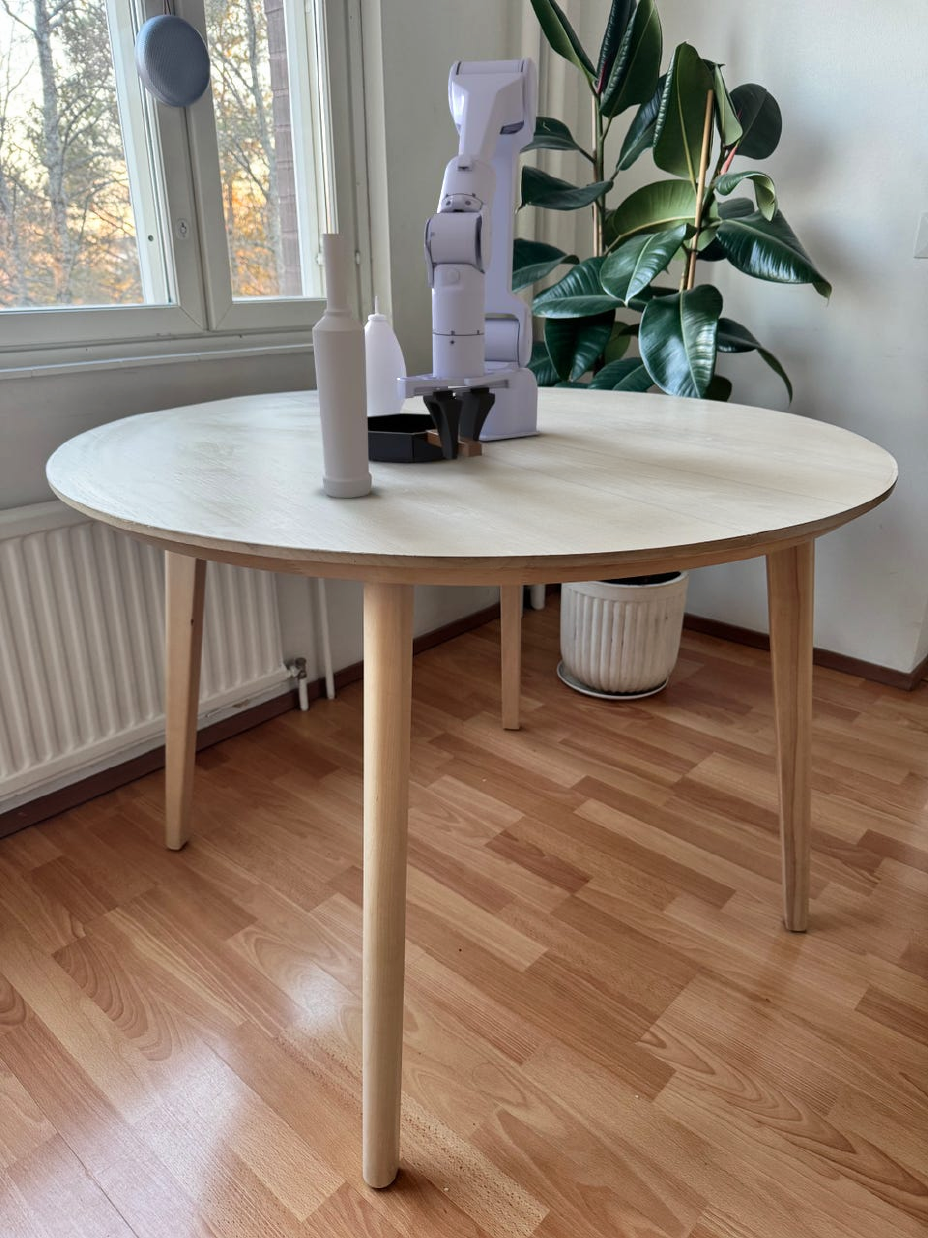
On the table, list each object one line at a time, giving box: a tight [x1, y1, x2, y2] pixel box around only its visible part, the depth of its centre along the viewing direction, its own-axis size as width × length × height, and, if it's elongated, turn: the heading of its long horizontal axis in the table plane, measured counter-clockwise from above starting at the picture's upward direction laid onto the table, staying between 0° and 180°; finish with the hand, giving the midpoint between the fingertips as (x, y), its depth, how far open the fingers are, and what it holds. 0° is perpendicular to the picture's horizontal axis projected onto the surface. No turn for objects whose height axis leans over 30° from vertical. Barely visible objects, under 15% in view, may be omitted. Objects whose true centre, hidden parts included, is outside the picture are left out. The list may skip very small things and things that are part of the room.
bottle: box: [311, 233, 373, 499], centre depth 84 cm, size 5×5×25 cm
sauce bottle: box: [364, 294, 408, 416], centre depth 120 cm, size 8×8×18 cm
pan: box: [367, 412, 483, 463], centre depth 103 cm, size 14×24×4 cm, turn 31°
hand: (458, 456), depth 97 cm, fingers closed on pan, 2 cm apart
